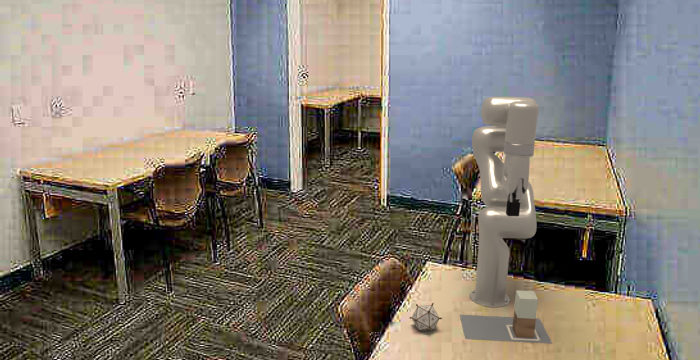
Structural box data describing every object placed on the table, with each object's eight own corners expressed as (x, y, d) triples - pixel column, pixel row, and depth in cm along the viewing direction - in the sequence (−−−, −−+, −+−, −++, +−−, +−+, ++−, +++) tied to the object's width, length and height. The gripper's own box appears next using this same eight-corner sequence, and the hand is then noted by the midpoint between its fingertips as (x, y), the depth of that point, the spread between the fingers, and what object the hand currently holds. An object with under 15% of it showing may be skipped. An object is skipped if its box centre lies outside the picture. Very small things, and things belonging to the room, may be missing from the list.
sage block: (514, 309, 167) (516, 290, 165) (531, 310, 166) (533, 291, 165) (517, 317, 162) (519, 298, 160) (535, 318, 161) (538, 299, 160)
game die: (428, 344, 167) (436, 331, 159) (402, 330, 169) (409, 315, 161) (440, 320, 172) (449, 305, 164) (415, 306, 174) (422, 291, 166)
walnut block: (512, 327, 168) (514, 309, 167) (529, 328, 168) (531, 310, 166) (515, 336, 163) (517, 317, 162) (533, 337, 163) (535, 318, 161)
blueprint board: (459, 316, 176) (459, 314, 175) (539, 320, 174) (539, 318, 174) (465, 341, 162) (465, 338, 162) (552, 346, 161) (552, 343, 160)
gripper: (498, 142, 158) (493, 206, 163) (510, 155, 144) (504, 224, 149) (526, 143, 158) (519, 207, 163) (541, 155, 144) (533, 225, 148)
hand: (512, 215), depth 156 cm, fingers closed
